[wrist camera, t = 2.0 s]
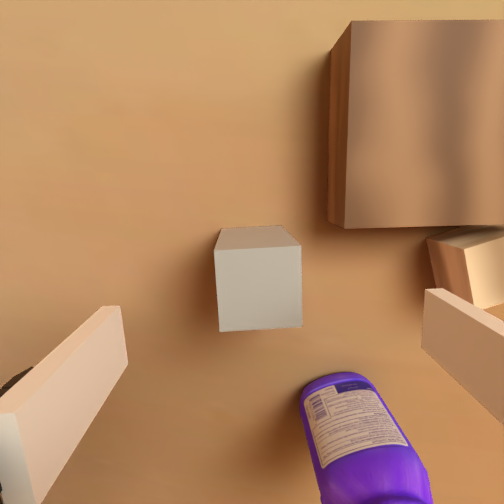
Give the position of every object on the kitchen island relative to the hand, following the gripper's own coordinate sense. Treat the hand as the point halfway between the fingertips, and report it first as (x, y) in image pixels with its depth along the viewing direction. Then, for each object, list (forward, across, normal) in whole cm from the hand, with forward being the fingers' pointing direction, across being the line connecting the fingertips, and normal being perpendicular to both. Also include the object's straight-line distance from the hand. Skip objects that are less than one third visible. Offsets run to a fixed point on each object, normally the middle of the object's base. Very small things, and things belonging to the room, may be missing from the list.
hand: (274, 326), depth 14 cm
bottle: (+14, +6, -14) cm, 21 cm away
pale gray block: (+14, 0, 0) cm, 14 cm away
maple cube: (+15, +18, -1) cm, 23 cm away
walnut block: (+15, +12, +9) cm, 21 cm away
